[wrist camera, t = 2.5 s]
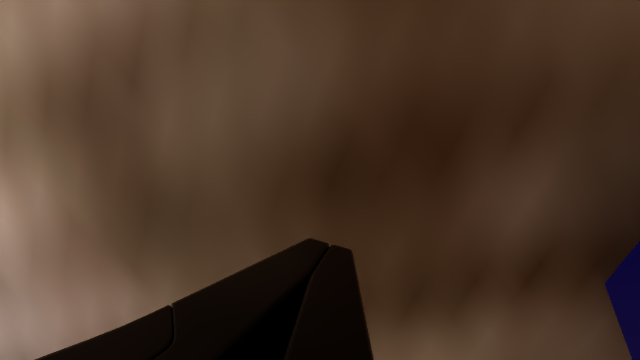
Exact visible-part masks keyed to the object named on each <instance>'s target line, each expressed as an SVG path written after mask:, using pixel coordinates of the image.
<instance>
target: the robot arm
mask: <svg viewBox="0 0 640 360" xmlns="http://www.w3.org/2000/svg"><path fill="white" fill-rule="evenodd" d="M35 360H374V359H373V354H372V349H371V343H370V338H369V333H368V328H367V323H366V318H365V313H364V308H363V303H362V298H361V293H360V288H359V282H358V277H357V272H356V267H355V262H354V257H353V253H352V251H351V250H350V249H347V248H343V247H340V246H336V245H331V246H329V244H328V243H325V242H322V241H318V240H315V239H306V240H304V241H302V242H300V243H298V244H296V245H294V246H292V247H289V248H287V249H285V250H283V251H281V252H279V253H277V254H275V255H273V256H271V257H268V258H266V259H264V260H262V261H260V262H258V263H256V264H254V265H252V266H250V267H247V268H245V269H243V270H241V271H239V272H237V273H235V274H233V275H231V276H229V277H226V278H224V279H222V280H220V281H218V282H216V283H214V284H212V285H210V286H208V287H205V288H203V289H201V290H199V291H197V292H195V293H193V294H191V295H189V296H187V297H185V298H182V299H180V300H178V301H176V302H174V303H172V305H171V306H170V305H167V306H165V307H163V308H161V309H159V310H157V311H155V312H153V313H151V314H148V315H146V316H144V317H142V318H139V319H137V320H135V321H133V322H130V323H128V324H126V325H124V326H121V327H119V328H116V329H114V330H111V331H109V332H106V333H104V334H101V335H99V336H96V337H94V338H91V339H89V340H86V341H83V342H81V343H78V344H75V345H73V346H70V347H67V348H64V349H62V350H59V351H56V352H54V353H51V354H48V355H46V356H43V357H40V358H38V359H35Z"/></svg>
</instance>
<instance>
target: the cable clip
mask: <svg viewBox="0 0 640 360" xmlns="http://www.w3.org/2000/svg"><path fill="white" fill-rule="evenodd" d="M605 286H606V289H607V292H608V294H609V297H610V300H611V303H612V305H613V308H614V311H615V314H616V316H617V319H618V322H619V325H620V327H621V330H622V333H623V335H624V338H625V341H626V344H627V346H628V349H629V352H630V355H631V357H632V360H640V241H639V242H638V244H637V245H636V246H635V247H634V249H633V250H632V251H631V252H630V253H629V255H628V256H627V257H626V258H625V259H624V261H623V262H622V263H621V264H620V265H619V267H618V268H617V269H616V270H615V271H614V273H613V274H612V275H611V276H610V277H609V279H608V280H607V281H606V282H605Z"/></svg>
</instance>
